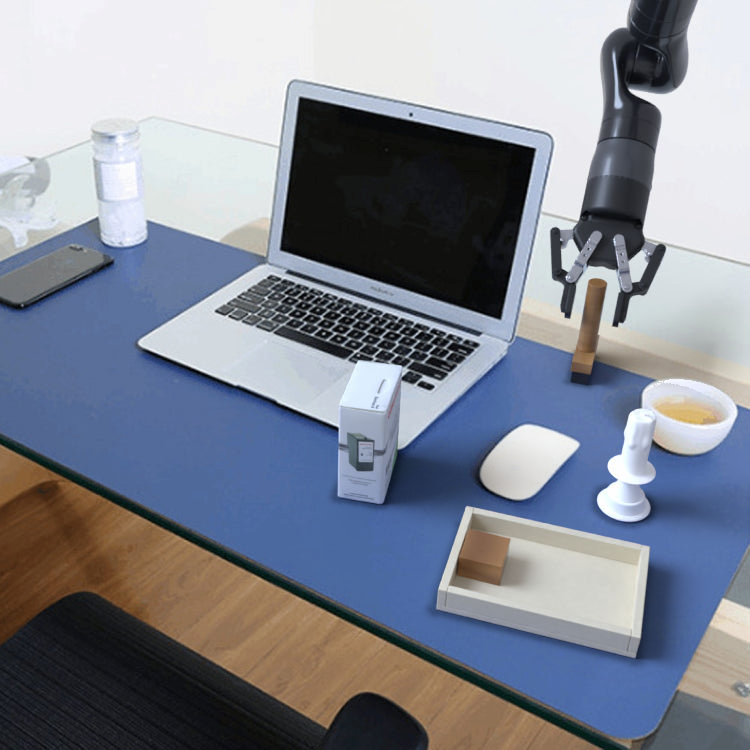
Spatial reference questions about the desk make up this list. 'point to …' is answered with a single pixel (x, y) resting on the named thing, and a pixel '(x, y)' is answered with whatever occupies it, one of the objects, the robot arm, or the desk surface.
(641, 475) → the candle
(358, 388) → the ink box
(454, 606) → the tray
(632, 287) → the robot arm
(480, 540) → the brown block
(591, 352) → the brush
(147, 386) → the desk surface
